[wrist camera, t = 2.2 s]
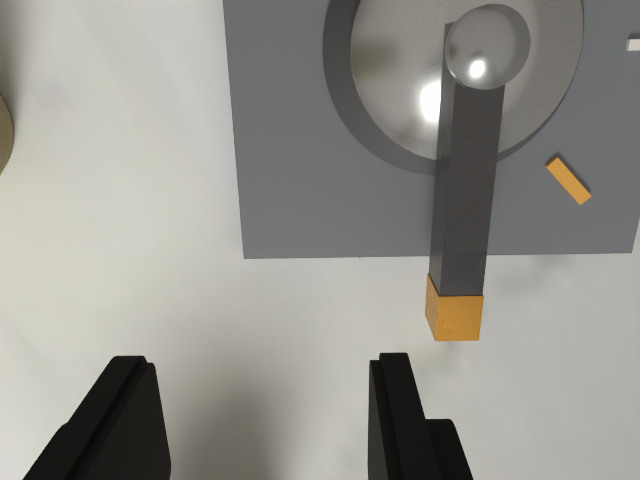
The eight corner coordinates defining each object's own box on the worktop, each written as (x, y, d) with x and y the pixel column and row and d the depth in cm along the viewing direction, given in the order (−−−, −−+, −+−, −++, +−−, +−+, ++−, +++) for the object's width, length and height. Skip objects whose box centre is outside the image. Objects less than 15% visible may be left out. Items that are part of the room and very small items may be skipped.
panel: (211, -213, 22) (202, -234, 20) (715, -228, 21) (747, -251, 20) (247, 248, 30) (243, 260, 28) (616, 243, 29) (634, 254, 28)
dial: (349, -70, 22) (356, -107, 17) (575, -75, 22) (654, -115, 17) (349, 295, 28) (354, 350, 23) (523, 293, 28) (568, 348, 23)
